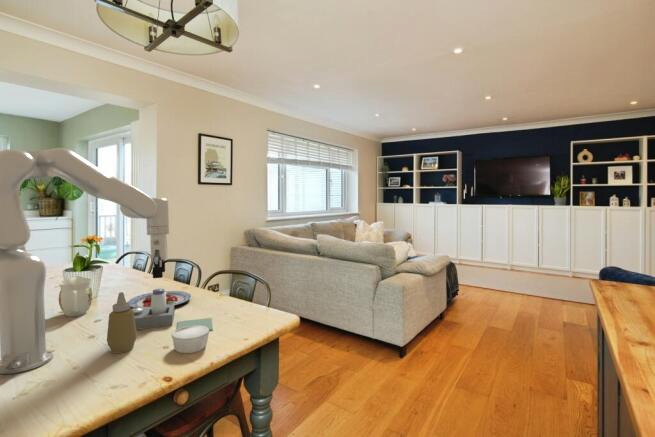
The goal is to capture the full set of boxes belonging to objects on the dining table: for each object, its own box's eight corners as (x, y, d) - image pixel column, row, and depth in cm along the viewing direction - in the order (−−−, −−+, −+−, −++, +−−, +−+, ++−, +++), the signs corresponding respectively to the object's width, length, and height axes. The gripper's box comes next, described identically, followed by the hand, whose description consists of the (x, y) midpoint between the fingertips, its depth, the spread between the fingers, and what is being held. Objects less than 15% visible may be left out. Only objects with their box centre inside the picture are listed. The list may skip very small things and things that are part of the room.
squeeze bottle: (131, 341, 111) (130, 287, 110) (141, 348, 106) (140, 292, 105) (102, 350, 104) (101, 293, 103) (112, 358, 99) (111, 298, 98)
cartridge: (165, 322, 128) (165, 291, 127) (150, 324, 126) (150, 292, 125) (166, 318, 133) (166, 287, 132) (152, 319, 131) (152, 288, 130)
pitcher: (56, 323, 125) (55, 287, 124) (61, 310, 140) (60, 277, 139) (92, 318, 131) (91, 283, 131) (93, 306, 146) (92, 274, 145)
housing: (174, 314, 137) (174, 305, 136) (172, 325, 126) (172, 314, 125) (129, 319, 131) (129, 309, 131) (122, 330, 120) (122, 319, 120)
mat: (212, 330, 121) (212, 329, 121) (176, 334, 117) (176, 333, 117) (211, 319, 132) (211, 317, 132) (178, 322, 128) (178, 321, 128)
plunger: (142, 322, 125) (141, 310, 125) (129, 323, 124) (129, 311, 124) (143, 318, 129) (143, 307, 129) (131, 320, 128) (131, 308, 128)
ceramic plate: (121, 302, 153) (121, 295, 153) (180, 292, 170) (180, 286, 170) (134, 317, 134) (134, 310, 134) (199, 304, 151) (199, 298, 151)
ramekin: (190, 337, 115) (190, 322, 114) (216, 343, 111) (216, 327, 110) (163, 351, 104) (163, 334, 104) (191, 358, 100) (191, 341, 100)
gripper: (166, 232, 121) (168, 279, 122) (170, 228, 137) (171, 269, 138) (143, 233, 118) (144, 281, 119) (150, 228, 134) (151, 270, 135)
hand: (159, 274), depth 129 cm, fingers open, 9 cm apart
